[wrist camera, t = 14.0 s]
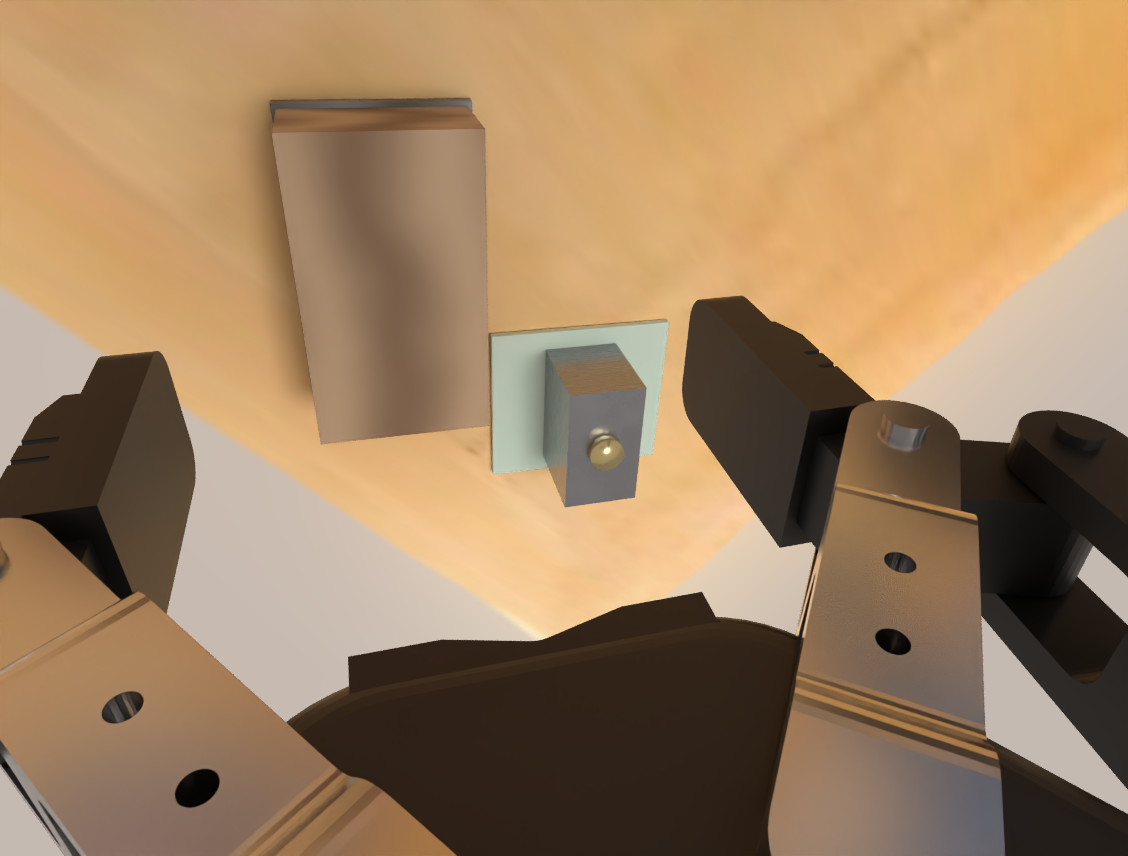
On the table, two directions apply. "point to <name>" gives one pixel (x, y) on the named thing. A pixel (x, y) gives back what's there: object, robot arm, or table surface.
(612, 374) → the block with brass knob
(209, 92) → the table surface
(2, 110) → the table surface
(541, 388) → the mat
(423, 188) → the body
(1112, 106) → the table surface
